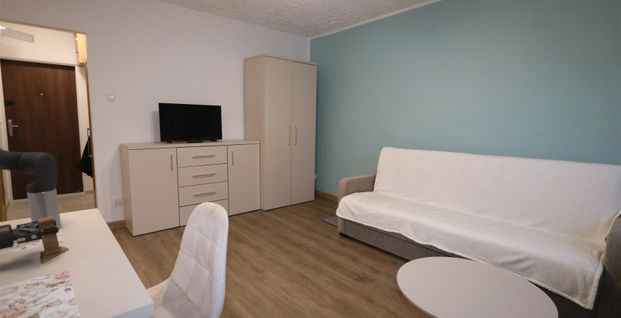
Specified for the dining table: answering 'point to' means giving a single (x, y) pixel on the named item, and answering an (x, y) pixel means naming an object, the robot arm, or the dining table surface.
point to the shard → (49, 256)
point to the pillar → (49, 236)
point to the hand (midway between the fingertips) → (57, 226)
